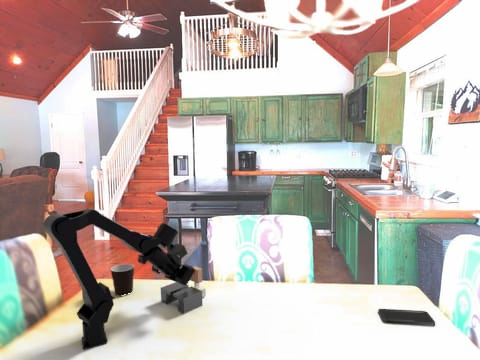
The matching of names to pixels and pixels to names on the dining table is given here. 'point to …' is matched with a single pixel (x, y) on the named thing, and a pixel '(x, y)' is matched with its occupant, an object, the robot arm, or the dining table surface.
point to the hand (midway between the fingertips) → (186, 281)
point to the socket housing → (182, 296)
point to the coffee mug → (123, 278)
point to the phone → (406, 317)
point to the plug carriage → (198, 280)
